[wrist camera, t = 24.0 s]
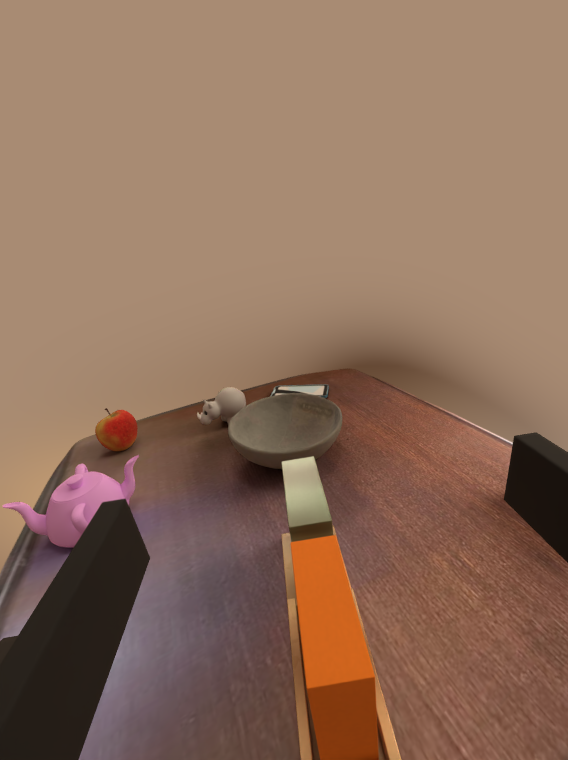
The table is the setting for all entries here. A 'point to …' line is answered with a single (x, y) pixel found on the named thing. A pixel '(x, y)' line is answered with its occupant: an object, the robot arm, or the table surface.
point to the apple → (117, 430)
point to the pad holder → (304, 523)
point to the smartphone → (302, 390)
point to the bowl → (285, 428)
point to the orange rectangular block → (334, 654)
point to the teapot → (76, 504)
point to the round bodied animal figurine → (223, 406)
